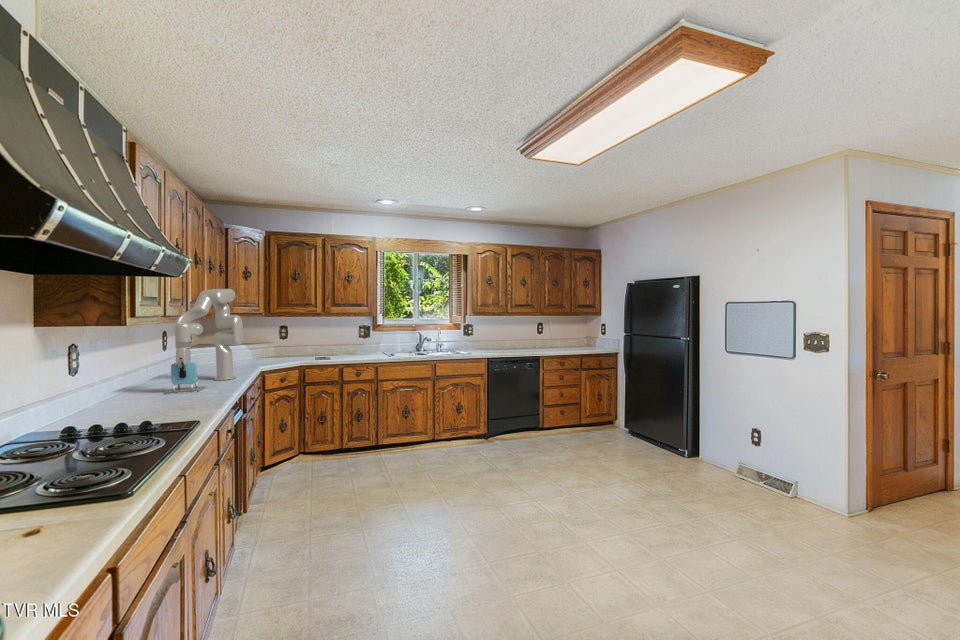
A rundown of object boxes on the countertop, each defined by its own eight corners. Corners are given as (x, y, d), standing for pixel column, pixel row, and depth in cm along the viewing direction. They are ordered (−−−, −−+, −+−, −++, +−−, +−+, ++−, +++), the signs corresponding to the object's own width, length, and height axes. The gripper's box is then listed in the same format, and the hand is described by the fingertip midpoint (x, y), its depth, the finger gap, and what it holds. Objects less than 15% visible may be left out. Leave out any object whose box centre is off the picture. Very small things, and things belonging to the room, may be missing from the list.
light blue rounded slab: (197, 382, 265) (197, 361, 264) (196, 383, 261) (195, 362, 260) (173, 383, 261) (172, 362, 260) (171, 385, 256) (170, 363, 256)
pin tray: (173, 389, 265) (172, 383, 265) (205, 387, 270) (205, 381, 270) (163, 394, 252) (163, 387, 252) (198, 391, 256) (197, 384, 256)
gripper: (181, 344, 267) (182, 375, 268) (170, 346, 251) (171, 379, 251) (195, 344, 269) (196, 374, 270) (185, 346, 253) (186, 378, 253)
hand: (184, 376), depth 260 cm, fingers closed on light blue rounded slab, 4 cm apart
